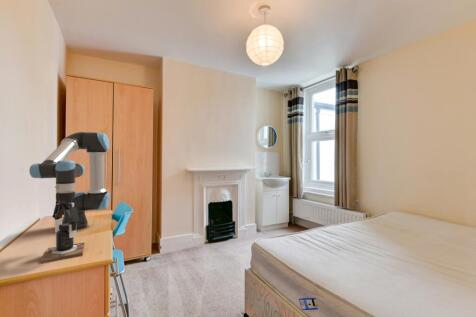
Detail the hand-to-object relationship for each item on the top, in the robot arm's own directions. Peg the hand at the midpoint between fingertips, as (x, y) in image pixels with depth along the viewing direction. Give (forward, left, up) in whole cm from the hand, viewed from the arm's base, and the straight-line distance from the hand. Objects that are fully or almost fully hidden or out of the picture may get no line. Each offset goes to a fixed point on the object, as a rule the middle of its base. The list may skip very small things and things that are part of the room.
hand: (65, 234), depth 109 cm
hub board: (0, 0, -9) cm, 9 cm away
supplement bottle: (0, 0, -7) cm, 7 cm away
